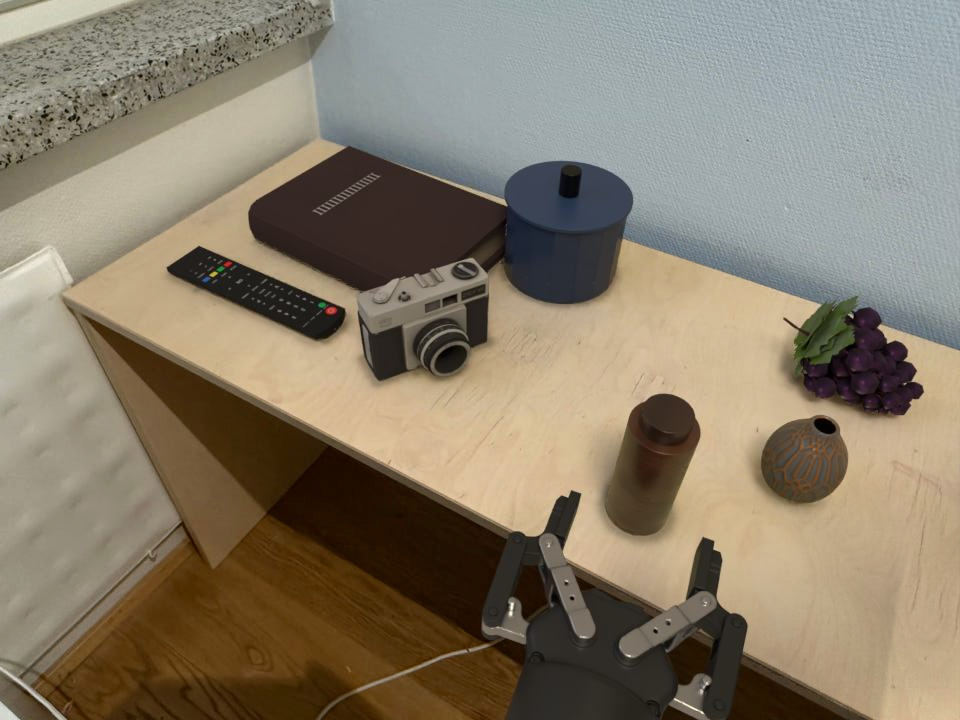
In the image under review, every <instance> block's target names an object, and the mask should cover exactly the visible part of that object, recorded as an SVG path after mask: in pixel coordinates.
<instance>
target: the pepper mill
mask: <svg viewBox="0 0 960 720" xmlns="http://www.w3.org/2000/svg"><path fill="white" fill-rule="evenodd" d="M695 413H696V412H695V410H694V408H693V407H692V405H691V404H690V403H689V402H688V401H687V400H686V399H684V398H682V397H680V396H677V395H676V394H671V393H657V394H653V395H650V397H648V398H647V399H646V400H645V401H642V402H640V403H638V404H637V405H636V406H634V407H633V409H631V411H630V413H629V416H628V419H627V422H626V426H625V429H624V434H623V436H622V441H621V444H620V447H619V451H618V455H617V459H616V462H615V466H614V470H613V473H612V477H611V479H610V480H611V481H610V484H609V486H608V487H609V488H608V491H607V495H606V497H605V498H606V499H605V510H606V513H607V516H608V518H609V519H610V521H611V522H612V523H613V524H614V525H615V526H616V527H617V528H618V529H619V530H620V531H621V530H622V532H625V533H627V534H630V535H634V536H638V537H639V536H643V537H644V536H650V535H653V534H656V533H658V532H659V531H660V530H661V529H662V528H663V527H664V526H665V525H666V523H667V520H668V517H669V516H670V513H671V510H672V508H673V506H674V503H675V501H676V498H677V496H678V493H679V491H680V489H681V487H682V484H683V481H684V479H685V476H686V474H687V472H688V469H689V467H690V465H691V462H692V459H693V457H694V455H695V451H696V449H697V447H698V445H699V442H700V440H701V435H702V431H701V426H700V423H699V421H698V419H697V418H696V414H695Z"/></svg>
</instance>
